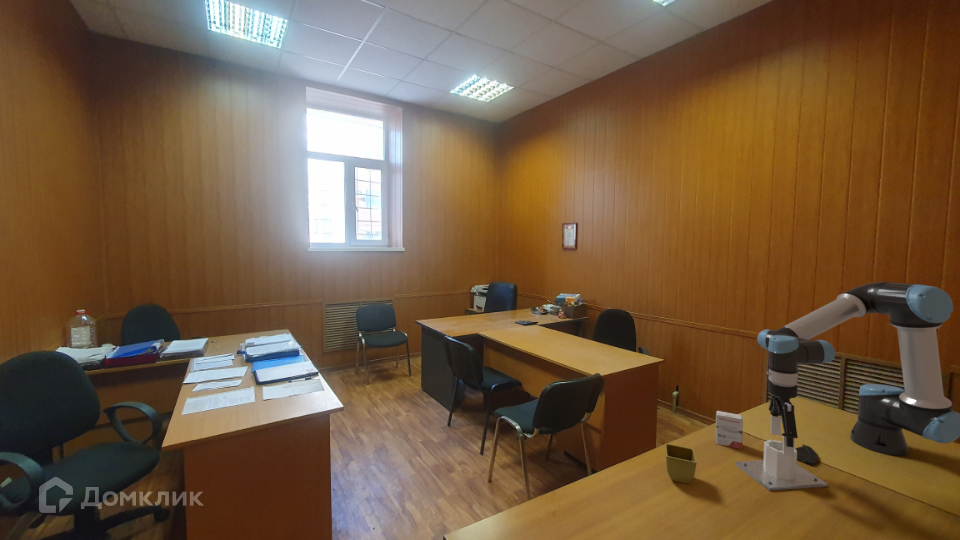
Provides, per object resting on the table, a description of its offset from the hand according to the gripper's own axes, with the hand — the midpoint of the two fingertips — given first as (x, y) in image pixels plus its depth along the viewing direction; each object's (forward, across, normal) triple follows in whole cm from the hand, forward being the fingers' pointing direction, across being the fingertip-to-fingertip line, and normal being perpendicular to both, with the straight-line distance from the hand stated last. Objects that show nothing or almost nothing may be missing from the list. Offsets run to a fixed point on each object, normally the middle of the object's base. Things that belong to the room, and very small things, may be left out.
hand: (781, 444), depth 124 cm
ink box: (+11, -16, -12) cm, 23 cm away
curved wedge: (+12, -17, +11) cm, 24 cm away
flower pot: (+10, +16, -31) cm, 36 cm away
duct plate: (+11, 0, -1) cm, 11 cm away
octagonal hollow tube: (+10, 0, -1) cm, 10 cm away
